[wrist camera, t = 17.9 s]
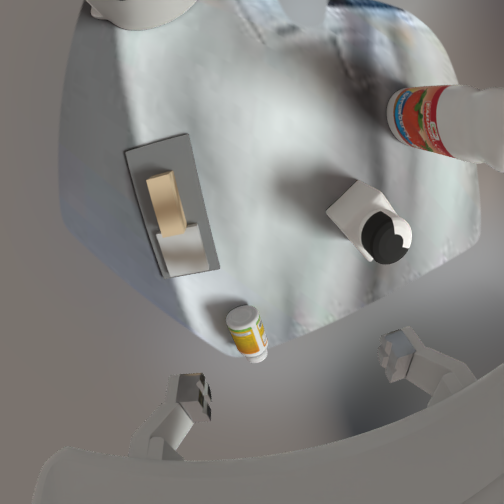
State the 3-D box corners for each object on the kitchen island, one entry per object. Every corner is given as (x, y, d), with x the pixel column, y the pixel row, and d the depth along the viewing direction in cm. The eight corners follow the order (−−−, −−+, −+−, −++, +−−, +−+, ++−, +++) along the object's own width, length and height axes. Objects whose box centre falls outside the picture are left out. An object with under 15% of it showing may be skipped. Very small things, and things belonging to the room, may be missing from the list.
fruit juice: (435, 140, 35) (580, 190, 10) (392, 152, 36) (553, 216, 10) (422, 85, 31) (576, 96, 6) (377, 92, 32) (548, 93, 6)
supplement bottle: (218, 318, 44) (236, 357, 48) (239, 331, 40) (255, 371, 44) (243, 300, 46) (257, 339, 50) (265, 311, 42) (277, 351, 46)
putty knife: (142, 178, 35) (135, 183, 32) (183, 167, 34) (179, 171, 32) (171, 273, 41) (168, 284, 38) (209, 266, 41) (207, 277, 38)
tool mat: (126, 151, 33) (125, 152, 33) (188, 133, 33) (188, 134, 33) (164, 277, 42) (164, 279, 42) (220, 267, 42) (220, 269, 41)
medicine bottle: (351, 242, 42) (386, 281, 31) (323, 211, 39) (356, 245, 28) (382, 211, 40) (426, 243, 29) (357, 178, 37) (401, 201, 26)
